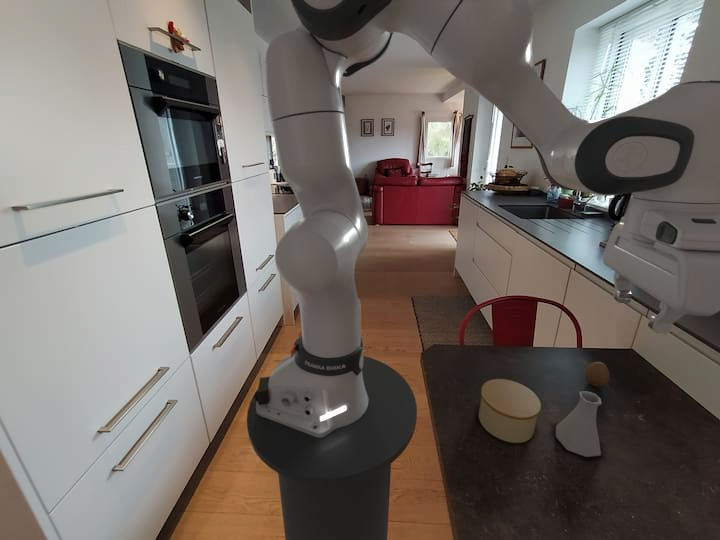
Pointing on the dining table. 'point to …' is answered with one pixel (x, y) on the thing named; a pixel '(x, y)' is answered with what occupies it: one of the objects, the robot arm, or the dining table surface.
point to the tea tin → (508, 410)
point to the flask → (581, 427)
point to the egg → (597, 374)
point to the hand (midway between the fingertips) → (637, 314)
